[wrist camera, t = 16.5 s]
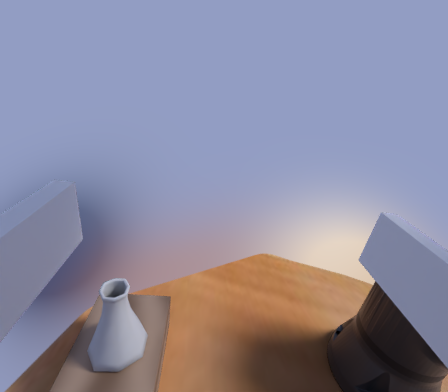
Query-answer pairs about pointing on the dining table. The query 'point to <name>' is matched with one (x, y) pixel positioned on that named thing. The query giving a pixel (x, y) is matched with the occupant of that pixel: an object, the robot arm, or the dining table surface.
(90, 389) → the walnut block
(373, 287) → the robot arm
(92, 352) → the flask
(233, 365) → the dining table surface
